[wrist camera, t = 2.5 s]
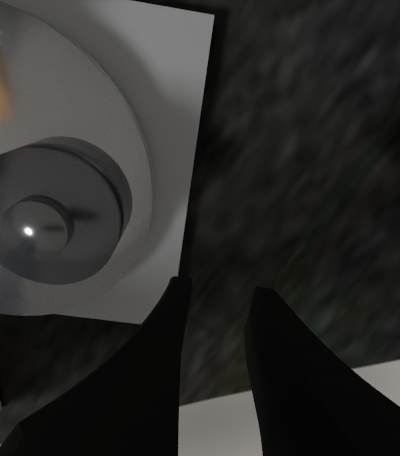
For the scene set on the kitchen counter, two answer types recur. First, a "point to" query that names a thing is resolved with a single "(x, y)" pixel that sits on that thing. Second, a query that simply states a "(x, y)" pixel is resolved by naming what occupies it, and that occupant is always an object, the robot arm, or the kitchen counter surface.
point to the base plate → (145, 122)
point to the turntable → (70, 127)
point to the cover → (60, 210)
